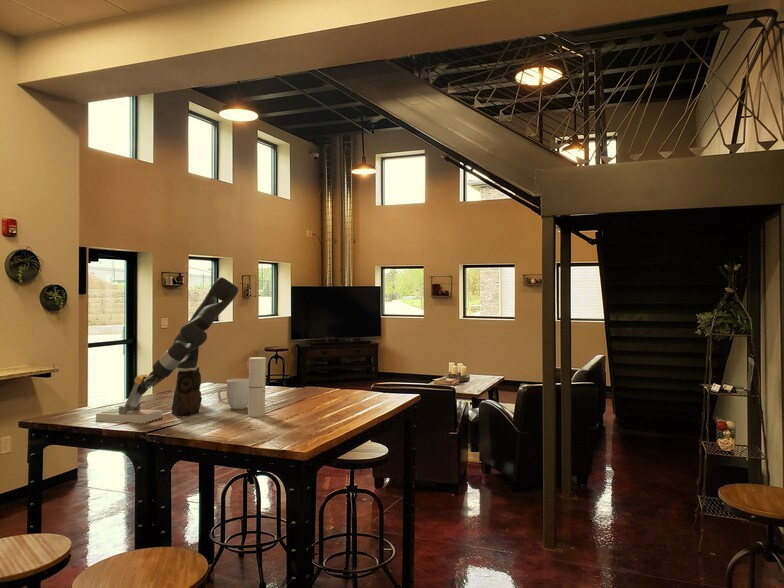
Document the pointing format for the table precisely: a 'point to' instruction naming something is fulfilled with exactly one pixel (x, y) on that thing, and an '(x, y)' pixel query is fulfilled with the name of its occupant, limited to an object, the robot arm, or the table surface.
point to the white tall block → (256, 387)
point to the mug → (236, 393)
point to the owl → (187, 393)
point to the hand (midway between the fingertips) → (140, 393)
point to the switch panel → (128, 415)
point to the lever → (135, 394)
